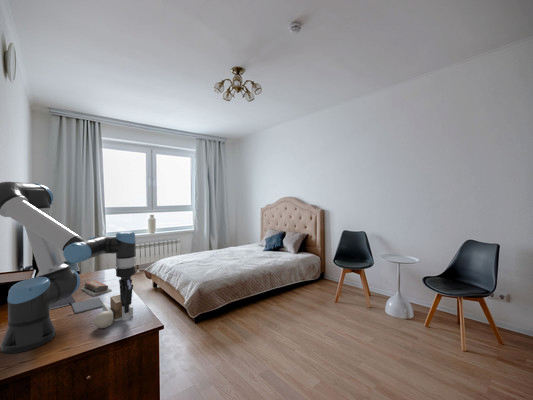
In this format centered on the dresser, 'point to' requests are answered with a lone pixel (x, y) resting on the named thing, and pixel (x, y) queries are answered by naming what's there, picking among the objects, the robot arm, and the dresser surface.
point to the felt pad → (87, 305)
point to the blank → (116, 306)
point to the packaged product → (95, 288)
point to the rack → (107, 308)
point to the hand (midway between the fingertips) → (125, 318)
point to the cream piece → (103, 319)
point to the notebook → (63, 302)
